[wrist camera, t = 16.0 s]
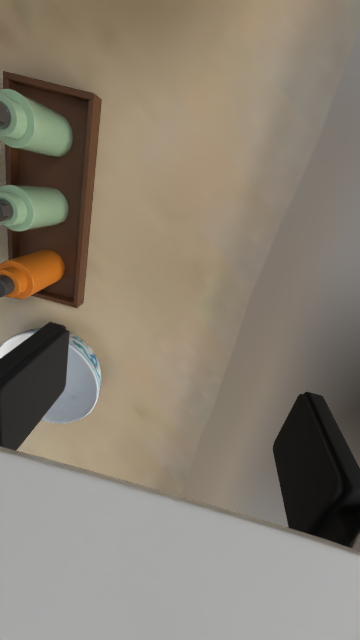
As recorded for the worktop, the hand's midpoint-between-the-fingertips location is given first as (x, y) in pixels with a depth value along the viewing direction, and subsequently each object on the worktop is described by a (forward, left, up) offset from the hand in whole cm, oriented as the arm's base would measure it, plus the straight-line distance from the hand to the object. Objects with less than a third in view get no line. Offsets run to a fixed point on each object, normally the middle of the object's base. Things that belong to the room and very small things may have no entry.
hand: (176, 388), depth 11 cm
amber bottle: (+7, -21, -28) cm, 36 cm away
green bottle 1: (-9, -21, -28) cm, 36 cm away
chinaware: (+21, -17, -28) cm, 39 cm away
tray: (-1, -21, -28) cm, 35 cm away
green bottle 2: (-1, -21, -28) cm, 35 cm away
